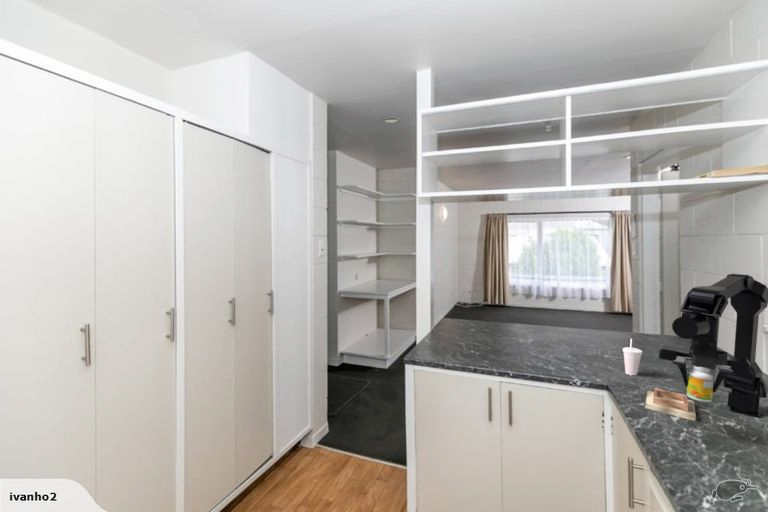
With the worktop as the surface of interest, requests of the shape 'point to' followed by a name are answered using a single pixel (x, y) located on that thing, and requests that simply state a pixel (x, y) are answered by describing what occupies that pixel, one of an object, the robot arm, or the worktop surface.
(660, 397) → the birch stand
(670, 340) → the worktop surface
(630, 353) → the smoothie
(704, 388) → the supplement bottle
